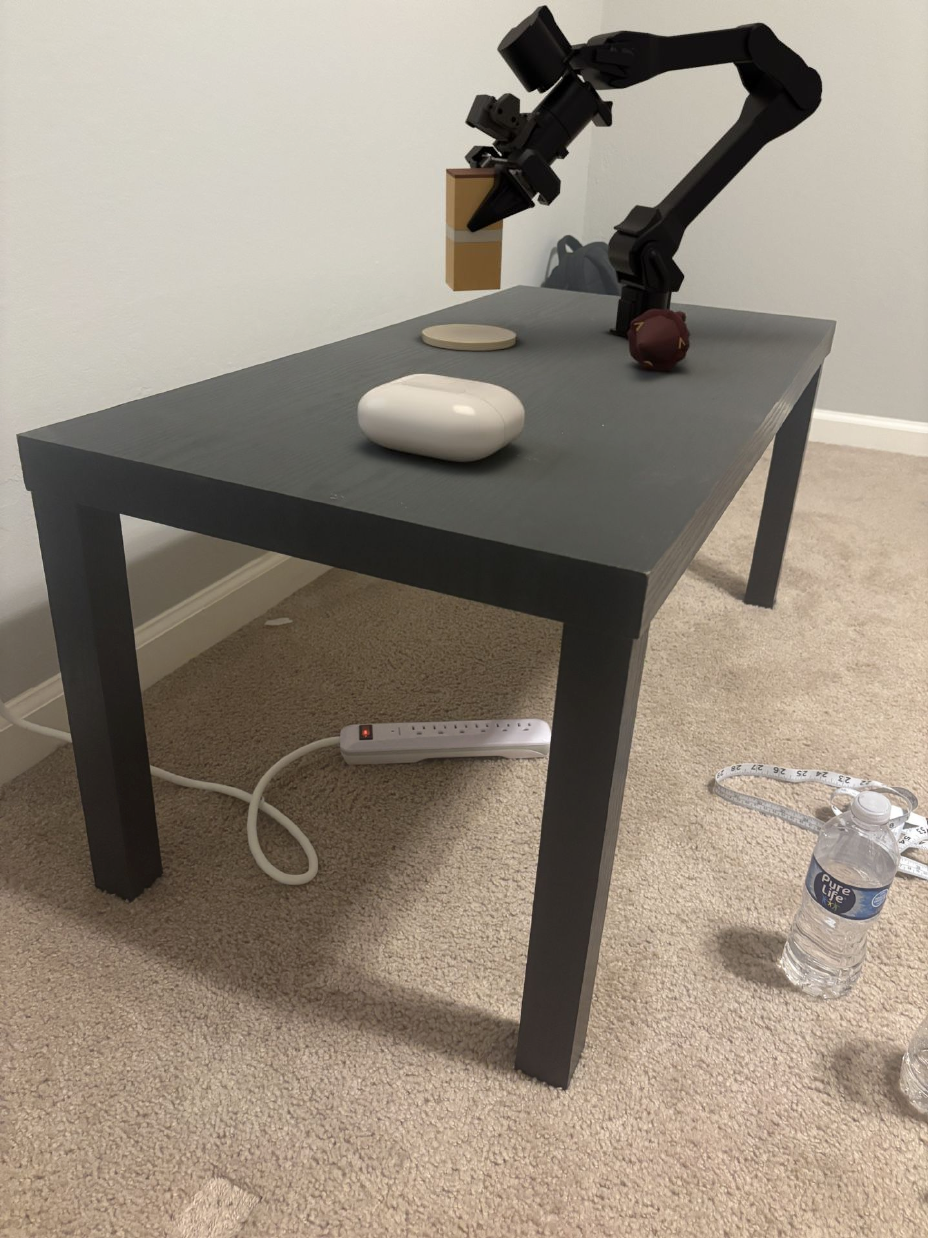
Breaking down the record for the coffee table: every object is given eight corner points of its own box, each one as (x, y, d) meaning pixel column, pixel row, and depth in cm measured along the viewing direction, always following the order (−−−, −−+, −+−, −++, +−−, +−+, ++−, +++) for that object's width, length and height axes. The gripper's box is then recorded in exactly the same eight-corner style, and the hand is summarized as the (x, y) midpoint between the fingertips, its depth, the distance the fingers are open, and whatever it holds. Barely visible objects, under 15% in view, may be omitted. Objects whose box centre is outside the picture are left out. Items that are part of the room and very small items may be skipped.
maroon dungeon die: (685, 325, 95) (715, 318, 107) (622, 300, 97) (658, 295, 109) (659, 388, 98) (690, 373, 111) (598, 362, 100) (636, 350, 113)
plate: (482, 328, 123) (483, 321, 123) (534, 346, 114) (534, 337, 114) (405, 335, 118) (405, 327, 117) (453, 354, 109) (453, 345, 108)
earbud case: (405, 421, 83) (405, 361, 80) (535, 445, 78) (540, 382, 75) (342, 450, 75) (339, 384, 72) (482, 479, 70) (485, 409, 67)
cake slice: (491, 280, 115) (494, 167, 108) (500, 289, 112) (505, 173, 104) (445, 282, 114) (446, 168, 107) (453, 291, 111) (454, 174, 103)
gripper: (483, 70, 110) (396, 170, 112) (542, 62, 95) (440, 177, 97) (538, 145, 116) (454, 238, 118) (602, 149, 101) (505, 255, 103)
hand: (462, 227), depth 109 cm, fingers closed on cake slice, 5 cm apart
